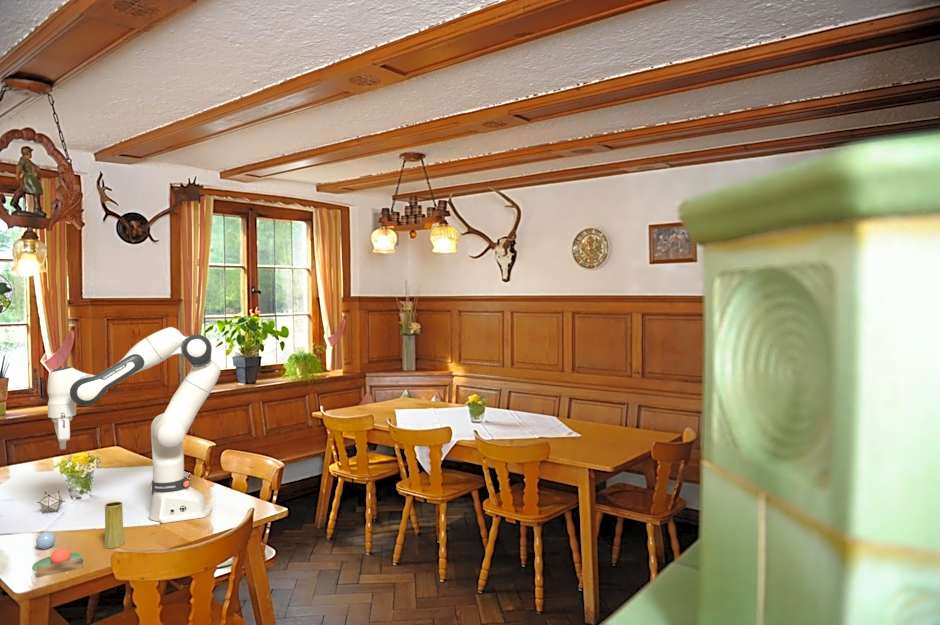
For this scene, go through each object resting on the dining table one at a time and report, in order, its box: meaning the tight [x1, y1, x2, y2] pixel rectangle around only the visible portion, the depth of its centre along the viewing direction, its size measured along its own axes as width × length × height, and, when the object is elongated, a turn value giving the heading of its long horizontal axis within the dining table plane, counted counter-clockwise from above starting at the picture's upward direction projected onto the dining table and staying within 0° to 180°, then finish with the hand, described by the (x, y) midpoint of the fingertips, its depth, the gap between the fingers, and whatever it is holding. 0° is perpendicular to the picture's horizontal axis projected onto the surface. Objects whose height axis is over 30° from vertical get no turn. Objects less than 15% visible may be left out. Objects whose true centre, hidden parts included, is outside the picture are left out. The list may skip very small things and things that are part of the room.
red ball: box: [49, 548, 71, 564], centre depth 203 cm, size 6×6×6 cm
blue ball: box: [35, 531, 56, 550], centre depth 217 cm, size 6×6×6 cm
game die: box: [36, 490, 66, 514], centre depth 254 cm, size 9×8×10 cm
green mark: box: [31, 552, 85, 572], centre depth 206 cm, size 14×14×1 cm
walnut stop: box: [36, 558, 84, 578], centre depth 199 cm, size 12×2×2 cm, turn 125°
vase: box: [103, 501, 125, 549], centre depth 220 cm, size 6×6×14 cm
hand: (62, 448), depth 237 cm, fingers closed
